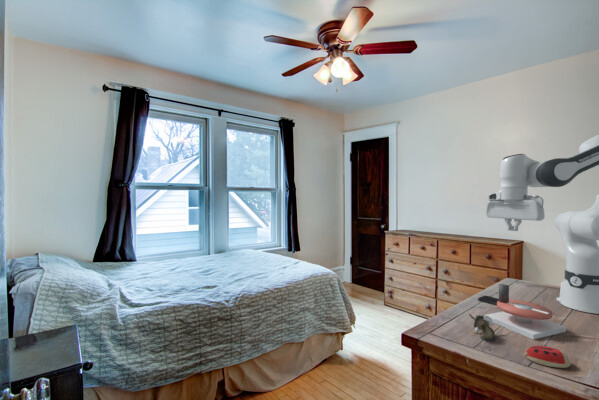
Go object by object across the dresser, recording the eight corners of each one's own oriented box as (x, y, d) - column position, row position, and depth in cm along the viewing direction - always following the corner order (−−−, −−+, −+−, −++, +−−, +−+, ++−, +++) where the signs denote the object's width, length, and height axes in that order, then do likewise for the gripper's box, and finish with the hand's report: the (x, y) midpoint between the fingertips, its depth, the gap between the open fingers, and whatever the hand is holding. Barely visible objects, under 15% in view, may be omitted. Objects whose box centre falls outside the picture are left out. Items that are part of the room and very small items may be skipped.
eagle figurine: (461, 323, 98) (467, 329, 89) (474, 306, 97) (481, 310, 89) (484, 339, 95) (492, 347, 86) (496, 322, 94) (506, 328, 86)
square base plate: (515, 313, 109) (515, 301, 109) (565, 331, 94) (566, 318, 94) (484, 319, 104) (484, 306, 104) (533, 339, 89) (533, 324, 89)
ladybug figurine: (577, 372, 72) (577, 357, 72) (532, 366, 75) (532, 353, 75) (560, 357, 79) (560, 344, 79) (519, 353, 81) (519, 340, 81)
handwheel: (559, 314, 96) (560, 292, 96) (541, 324, 89) (541, 300, 89) (508, 300, 109) (509, 281, 109) (488, 308, 101) (488, 287, 101)
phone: (485, 295, 128) (526, 305, 115) (485, 297, 128) (526, 308, 115) (476, 298, 123) (518, 309, 111) (476, 301, 123) (518, 312, 111)
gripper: (548, 195, 104) (548, 233, 104) (493, 195, 123) (493, 228, 123) (537, 195, 102) (537, 234, 102) (483, 195, 121) (483, 228, 121)
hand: (512, 230), depth 113 cm, fingers closed
